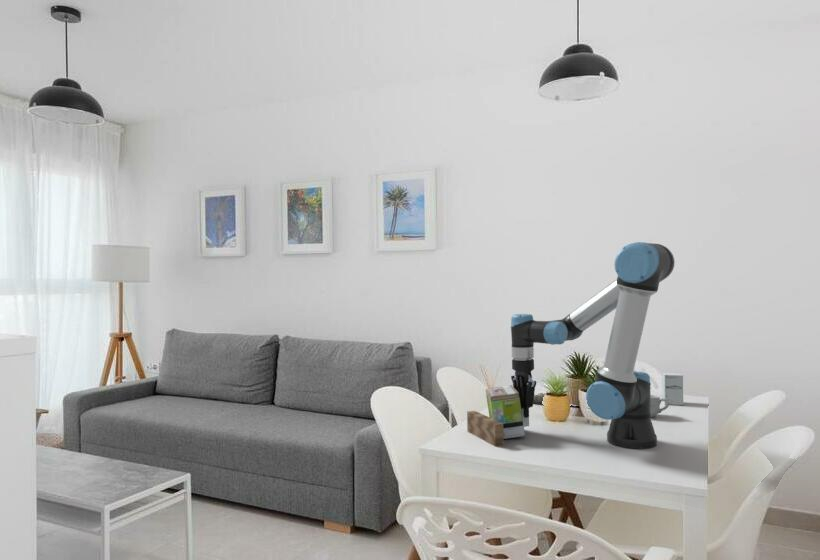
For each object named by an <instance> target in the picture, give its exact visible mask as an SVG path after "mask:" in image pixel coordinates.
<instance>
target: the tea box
mask: <svg viewBox="0 0 820 560" xmlns="http://www.w3.org/2000/svg"><path fill="white" fill-rule="evenodd" d="M485 396H486V402H487V410H488V414H489V415H488V417H490V418H492V419H494V420H496V421H499V422H501V423H503V435H504V439H512V438H518V437H524V436H525V427H524V426H523V419H522V412H521V405H520V398H519V393H518V392H517V390H516V389H515V388H514V387H513V384H512V385H504V386H503V385H502V386H497V387H491V388H490V387H489V388H485Z"/></svg>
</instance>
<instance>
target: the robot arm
mask: <svg viewBox="0 0 820 560" xmlns="http://www.w3.org/2000/svg"><path fill="white" fill-rule="evenodd" d="M613 264H614V265H613V266H614V270H615V272H616V275H617V278H616V279H614V281H612V282H611V283H610V284H609V283H608V285H607V286H605V287H604V288H603V289H601V290H599V291H598V292H597V293H596V294H594V295H593V296H592V297H590V298H589V299H588V300H586V301H585V302H584V303H582V304H581V305H579V307H577V308H575V309H574V310H573V311H572V312H570V313H569V314H567V315H566V316H565V317H563V318H562V319H556V320H555V319H554V320H534V317H533V314H531V313H516V314H512V316H511V318H510V319H511V321H510V333H511V358H512V360H511V367H512V368H511V369H512V370H513V371H514V375H511V376H510V378H511V381H512V386H513V387H514V388H515V389H516V390H517V392H518V393H519V398H520V405H521V412H522V419H523V426H524V428H525V427H530V408H533V407H534V403H533V401H534V395H535V390H536V387H537V381H536V380H533V375H532V372H533V370H535V360H534V359H533V358H534V354H535V353H534V351H535V349H534V345H535V343H536V344H537V343H538V344H546V345H547V344H548V345H552V346H554V345H563V344H565V342H567V341H574V340H576V339H579V338H580V337H581V336H582V334H583V333H584V331H586V330H587V329H589V328H590V327H592V326H593V325H594V324H596V323H597V322H599V321H601V320H602V319H603V318H604V317H606V316H607V315H608V314H610V313H612V312H613V311H615V312H614V317H613V322H612V325H611V326H612V327H611V331H610V336H609V340H608V344H607V349H606V354H605V357H604V364H603V366H601V367H599V368H598V369H597V370H596V376H595V379H594V382H593V383H591V384H590V386H589V387H588V388H587V390H586V394H585V396H586V397H585V399H586V400H587V404H588V406H589V407H590V408H589V410H590V411H591V412H592V413H593V414H594V415H595V416H597V417H599V418H600V419H603V420H607V421H609V420H610V423H609V428H608V430H607V432H606V441H607V442H608V443H610V444H611V445H614V446H618V447H621V448H626V449H627V448H628V449H649V448H650V449H651V448H654V447H656V446H657V445H658V436H657V434H656V433H655V427H654V425H653V423H652V419H651V418H652V417H651V402H650V395H651V386H652V385H651V384H652V383H651V377H650V374H648V373H647V372H644V371H635V366H636V361H637V358H638V352H639V348H640V344H641V341H642V340H641V339H642V335H643V331H644V326H645V322H646V317H647V313H648V308H649V304H650V300H651V297H652V296H653V295H655V294H656V293H657V292H658V290H659V285H660V283H661V282H662V281H664V280H665V279H667V278H668V277H669V276H670V275H671V274H672V273H673V271H674V268H675V258H674V254H673V252H672V251H671V250H670V249H669V248H668V247H667V246H665V245H663V244H659V243H650V242H645V241H643V242H642V241H639V242H638V241H637V242H633V243H632V242H631V243H628V244H627V245H624V246H623V247H622V248H620V249H619V251H618V252H617V254H616V256H615V258H614V263H613Z"/></svg>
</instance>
